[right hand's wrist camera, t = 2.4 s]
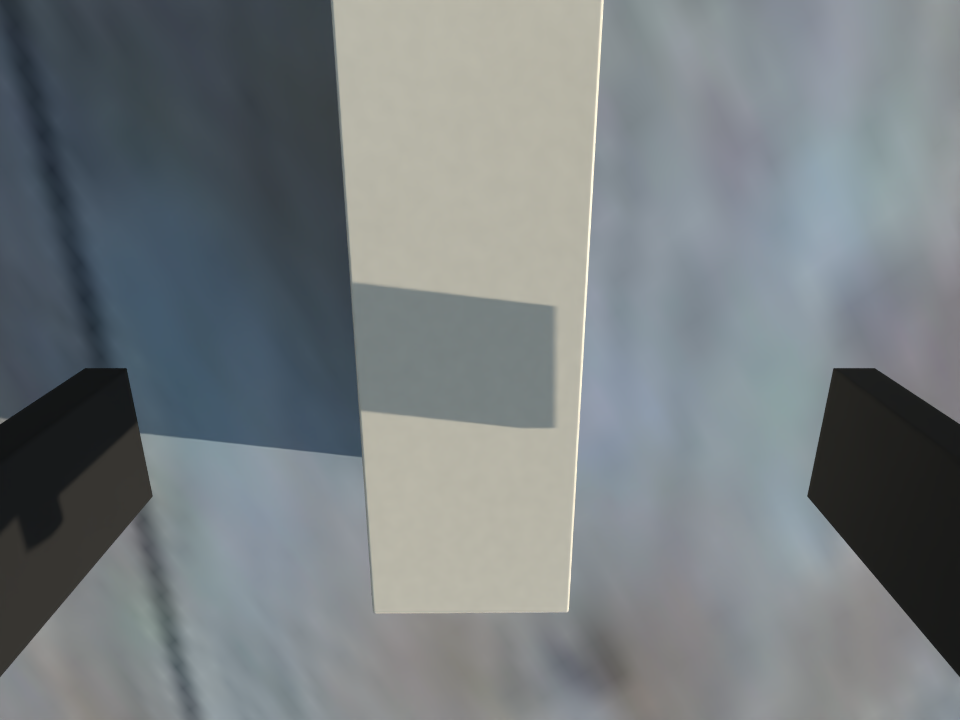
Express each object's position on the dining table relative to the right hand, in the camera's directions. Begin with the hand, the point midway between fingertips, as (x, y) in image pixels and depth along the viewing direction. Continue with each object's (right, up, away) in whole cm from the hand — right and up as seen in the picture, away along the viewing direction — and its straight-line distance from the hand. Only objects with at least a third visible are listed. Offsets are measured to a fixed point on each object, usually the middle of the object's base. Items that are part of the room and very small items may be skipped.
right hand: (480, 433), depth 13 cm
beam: (0, +27, -1) cm, 28 cm away
